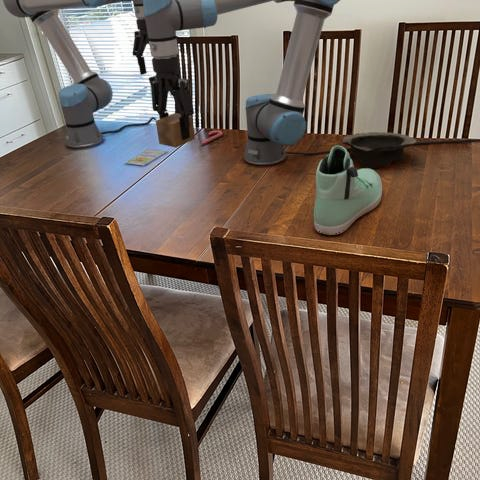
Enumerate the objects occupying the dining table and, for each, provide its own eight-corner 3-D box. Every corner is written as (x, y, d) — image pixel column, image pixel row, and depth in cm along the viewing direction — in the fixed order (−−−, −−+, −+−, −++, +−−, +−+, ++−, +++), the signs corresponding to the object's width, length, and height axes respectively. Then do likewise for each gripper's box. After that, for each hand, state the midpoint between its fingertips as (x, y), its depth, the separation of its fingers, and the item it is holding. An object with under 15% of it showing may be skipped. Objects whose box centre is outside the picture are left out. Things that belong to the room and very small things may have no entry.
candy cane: (192, 143, 195) (191, 140, 194) (214, 132, 205) (214, 128, 204) (203, 146, 192) (203, 142, 191) (225, 134, 202) (225, 130, 201)
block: (159, 144, 144) (155, 120, 140) (178, 135, 149) (175, 112, 146) (176, 147, 140) (172, 124, 136) (195, 138, 146) (192, 115, 142)
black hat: (374, 178, 154) (374, 150, 149) (327, 160, 174) (326, 135, 170) (431, 159, 163) (433, 133, 158) (380, 144, 183) (380, 120, 179)
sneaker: (389, 187, 148) (396, 123, 138) (356, 242, 123) (361, 168, 112) (346, 181, 154) (350, 119, 144) (306, 232, 129) (307, 161, 118)
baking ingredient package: (124, 162, 180) (148, 148, 192) (124, 163, 181) (148, 150, 192) (143, 164, 177) (166, 151, 188) (143, 166, 177) (166, 152, 189)
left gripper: (117, 18, 186) (127, 74, 197) (161, 20, 172) (169, 80, 183) (132, 15, 191) (141, 70, 202) (176, 17, 177) (183, 76, 188)
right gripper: (130, 56, 135) (144, 135, 147) (182, 61, 124) (193, 145, 136) (149, 51, 140) (162, 128, 152) (201, 55, 129) (209, 137, 141)
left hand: (154, 75), depth 193 cm, fingers open, 13 cm apart
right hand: (176, 136), depth 144 cm, fingers closed on block, 7 cm apart
